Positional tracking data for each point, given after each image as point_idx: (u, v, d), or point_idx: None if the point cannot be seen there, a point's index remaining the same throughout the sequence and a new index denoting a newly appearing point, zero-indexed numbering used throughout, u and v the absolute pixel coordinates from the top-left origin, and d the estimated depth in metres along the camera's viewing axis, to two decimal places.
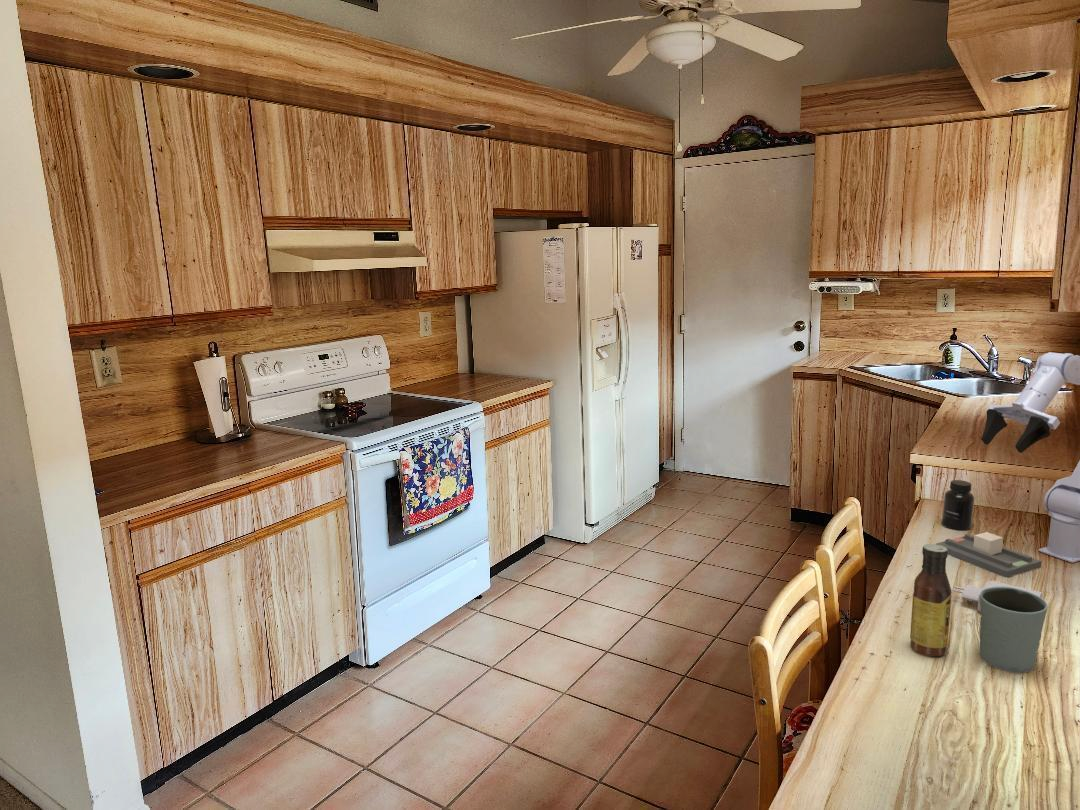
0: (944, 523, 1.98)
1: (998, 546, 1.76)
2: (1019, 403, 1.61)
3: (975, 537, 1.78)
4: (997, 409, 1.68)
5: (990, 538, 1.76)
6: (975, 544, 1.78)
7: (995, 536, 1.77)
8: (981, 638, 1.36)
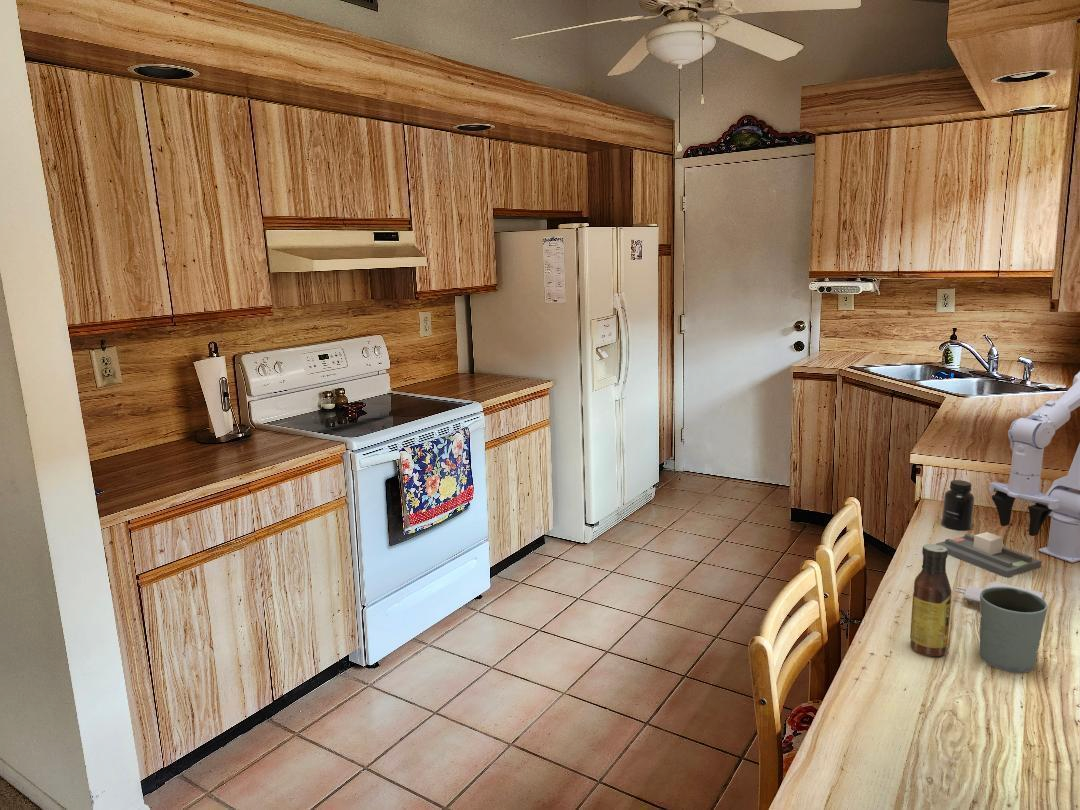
0: (944, 523, 1.98)
1: (998, 546, 1.76)
2: (1014, 496, 1.66)
3: (975, 537, 1.78)
4: None
5: (990, 538, 1.76)
6: (975, 544, 1.78)
7: (995, 536, 1.77)
8: (981, 638, 1.36)
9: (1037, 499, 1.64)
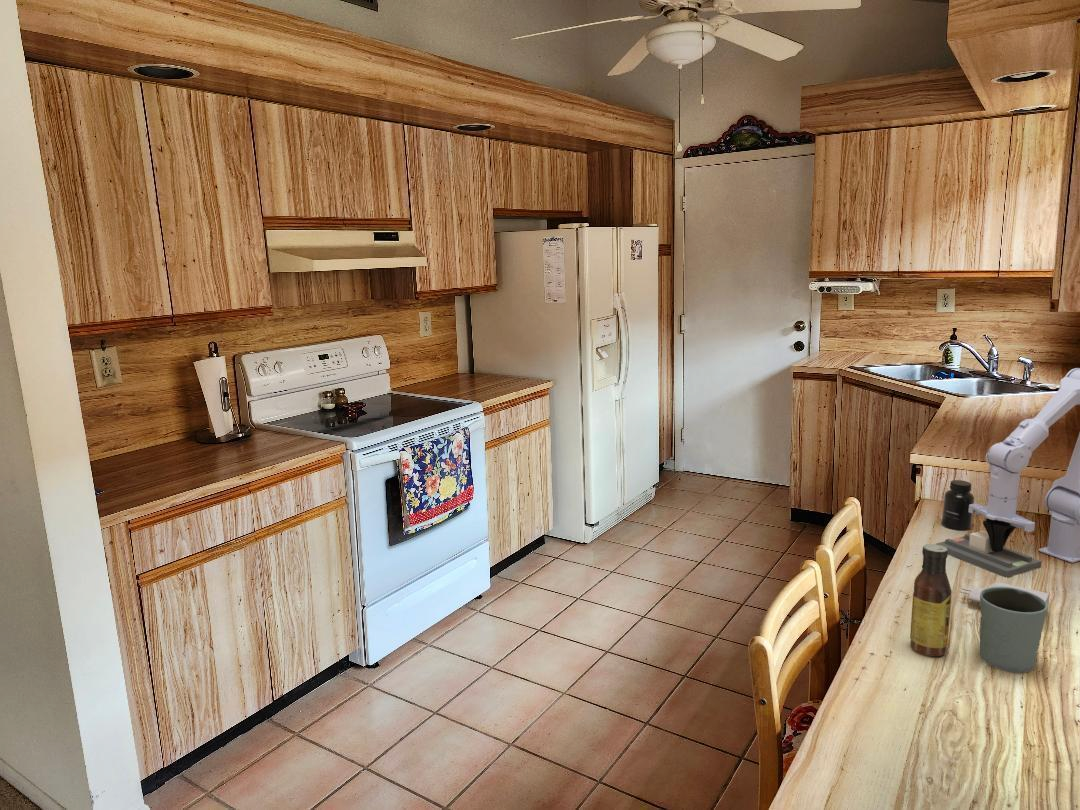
0: (944, 523, 1.98)
1: None
2: (992, 518, 1.72)
3: (971, 535, 1.79)
4: None
5: (986, 536, 1.77)
6: (971, 542, 1.79)
7: None
8: (981, 638, 1.36)
9: (1014, 521, 1.70)
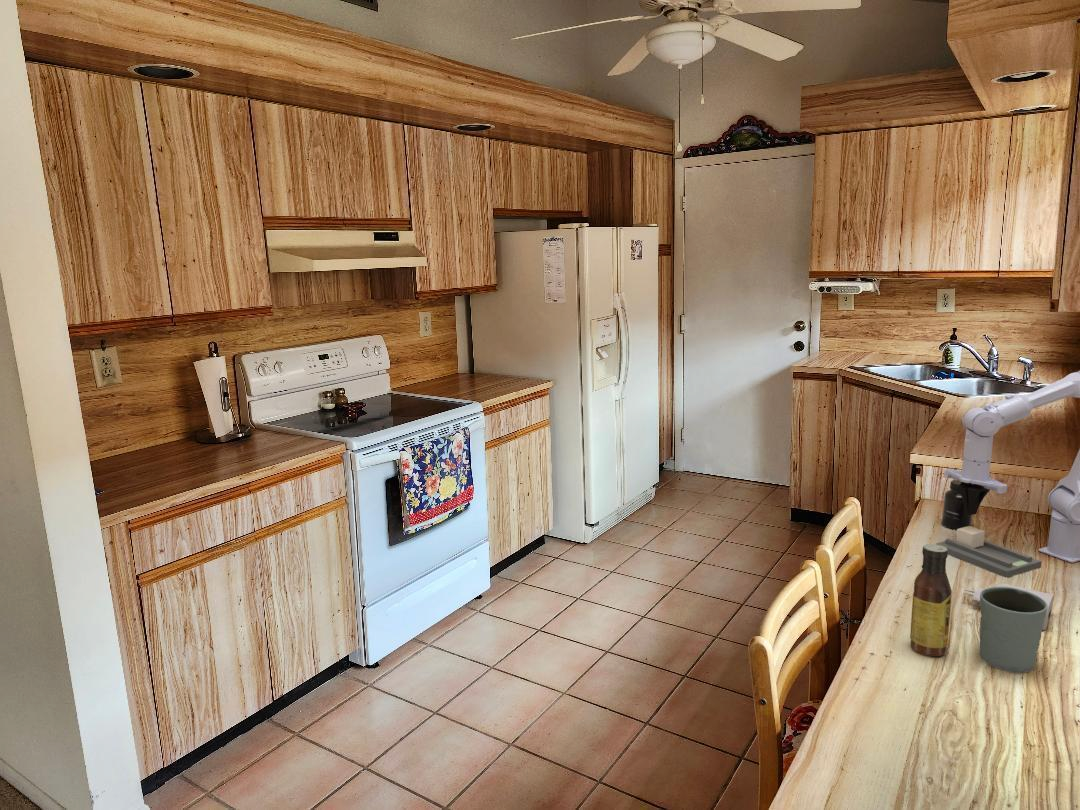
0: (944, 523, 1.98)
1: (980, 539, 1.80)
2: (966, 481, 1.77)
3: (958, 531, 1.82)
4: None
5: (973, 531, 1.80)
6: (958, 538, 1.82)
7: (977, 529, 1.81)
8: (981, 638, 1.36)
9: (987, 484, 1.74)
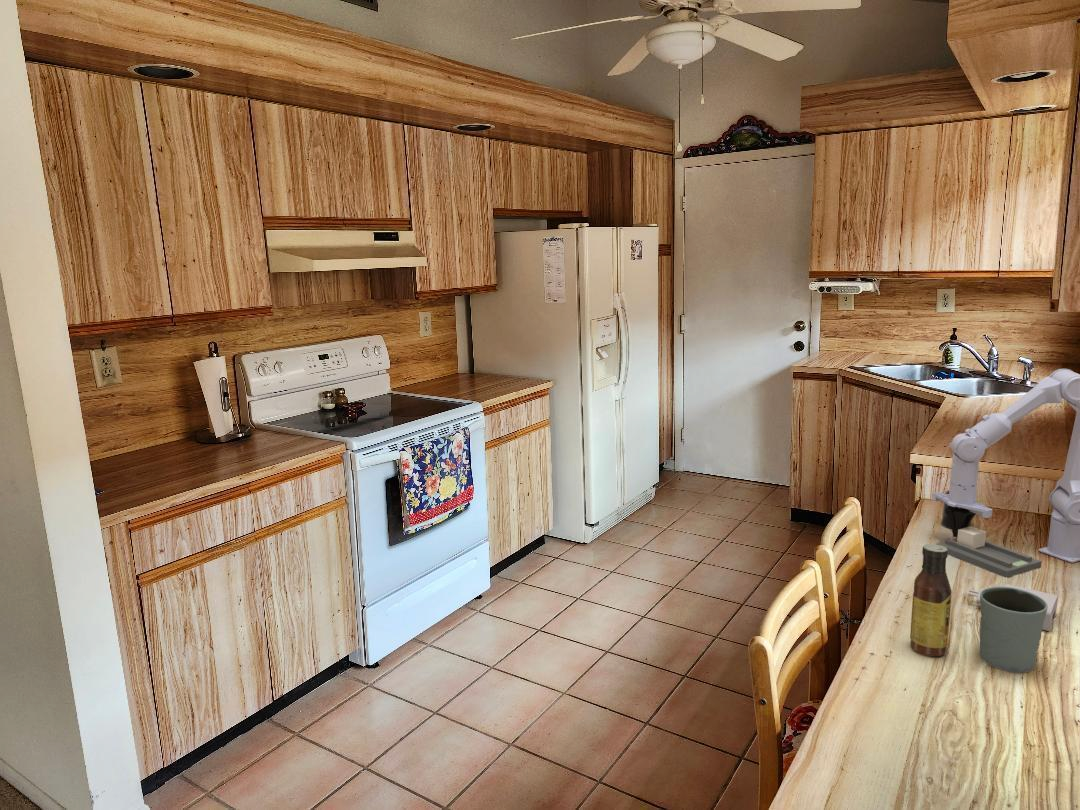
0: (944, 523, 1.98)
1: (981, 540, 1.80)
2: (952, 505, 1.81)
3: (959, 531, 1.82)
4: None
5: (974, 532, 1.80)
6: (959, 538, 1.82)
7: (978, 530, 1.81)
8: (981, 638, 1.36)
9: (973, 508, 1.78)
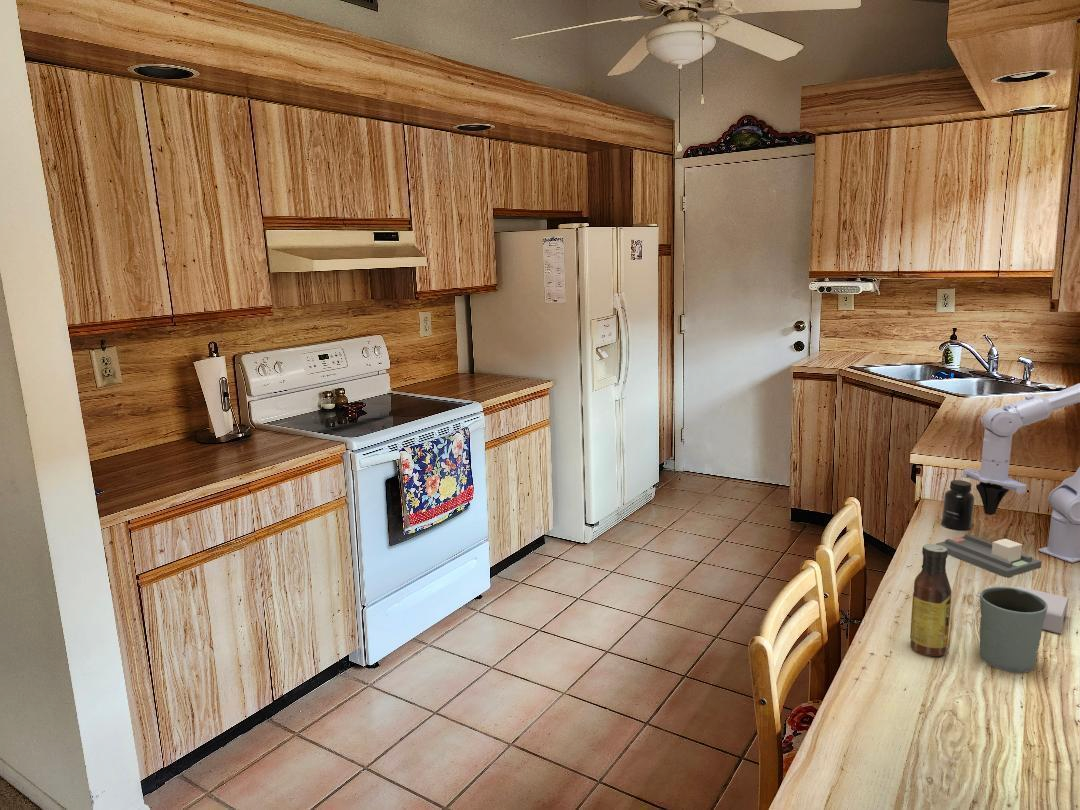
0: (944, 523, 1.98)
1: (1017, 553, 1.72)
2: (984, 481, 1.77)
3: (993, 544, 1.74)
4: None
5: (1009, 544, 1.72)
6: (993, 551, 1.74)
7: (1014, 542, 1.73)
8: (981, 638, 1.36)
9: (1006, 484, 1.74)
